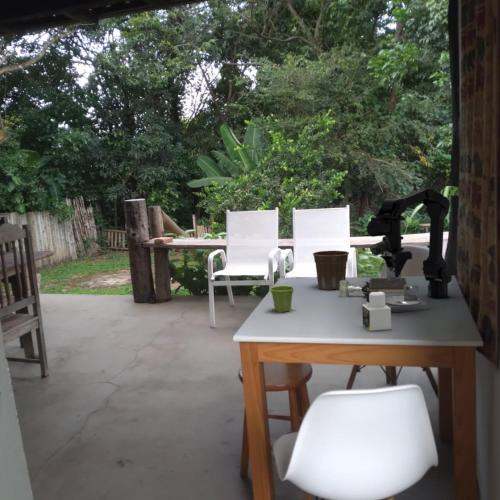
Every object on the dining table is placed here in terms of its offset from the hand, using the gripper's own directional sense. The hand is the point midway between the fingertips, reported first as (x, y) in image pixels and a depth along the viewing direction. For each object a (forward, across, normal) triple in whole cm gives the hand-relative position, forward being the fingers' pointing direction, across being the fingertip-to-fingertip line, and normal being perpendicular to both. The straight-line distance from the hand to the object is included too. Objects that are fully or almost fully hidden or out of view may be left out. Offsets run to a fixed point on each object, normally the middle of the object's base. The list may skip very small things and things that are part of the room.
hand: (393, 275), depth 179 cm
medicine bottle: (+12, +21, -16) cm, 29 cm away
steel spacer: (+2, 0, 0) cm, 2 cm away
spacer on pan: (+9, 0, +7) cm, 12 cm away
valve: (+12, -23, -8) cm, 27 cm away
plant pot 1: (+12, -11, -40) cm, 43 cm away
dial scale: (+12, 0, +2) cm, 12 cm away
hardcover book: (+13, -35, +12) cm, 39 cm away
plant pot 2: (+12, -44, -11) cm, 47 cm away
